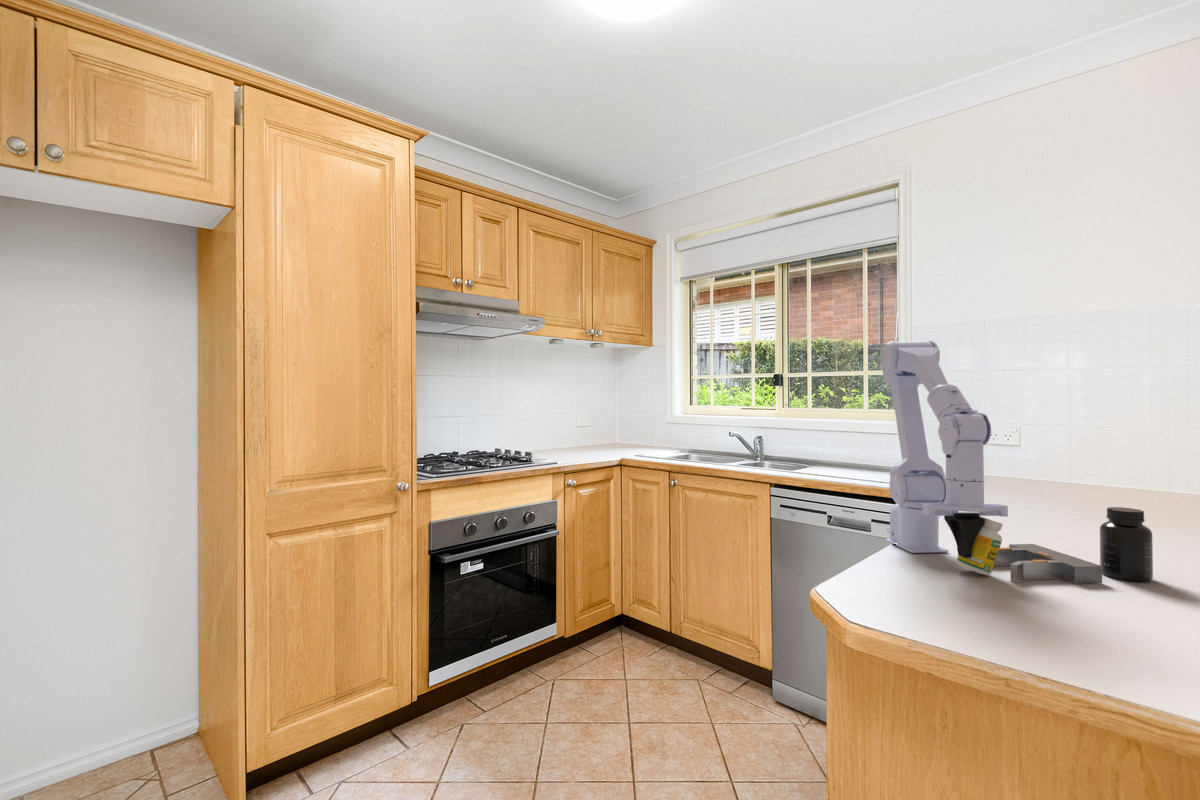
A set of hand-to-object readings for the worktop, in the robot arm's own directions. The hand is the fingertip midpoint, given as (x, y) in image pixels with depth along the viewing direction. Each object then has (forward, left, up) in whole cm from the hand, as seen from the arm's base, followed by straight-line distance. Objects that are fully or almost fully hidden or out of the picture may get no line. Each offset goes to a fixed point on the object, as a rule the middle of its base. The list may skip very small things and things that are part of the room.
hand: (965, 556), depth 99 cm
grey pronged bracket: (-1, +13, -3) cm, 13 cm away
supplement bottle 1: (-1, +2, -3) cm, 4 cm away
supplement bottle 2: (+3, +28, -4) cm, 28 cm away
